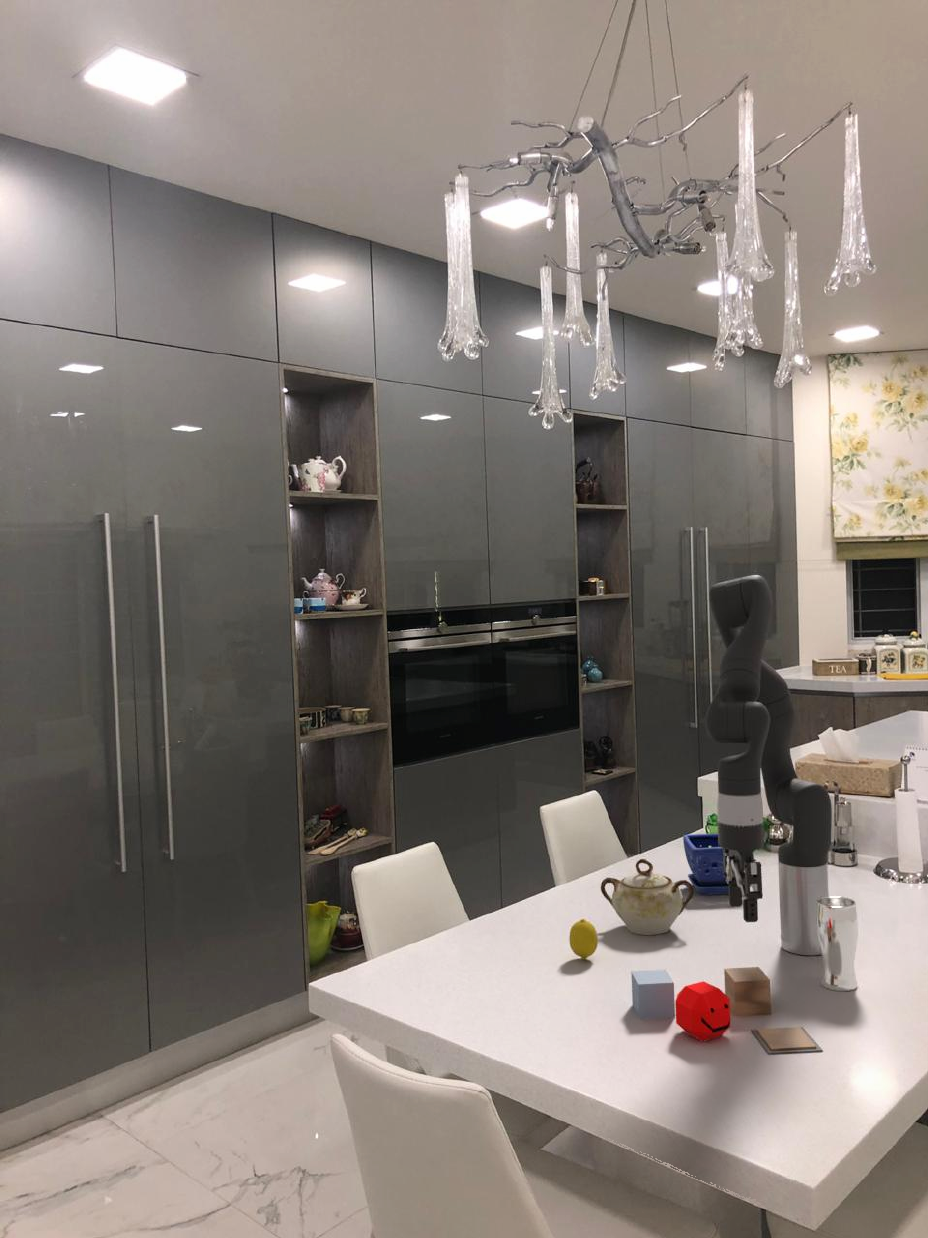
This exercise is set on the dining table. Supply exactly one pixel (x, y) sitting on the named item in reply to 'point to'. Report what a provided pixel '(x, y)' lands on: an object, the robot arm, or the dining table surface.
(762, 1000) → the walnut cube
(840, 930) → the beer glass
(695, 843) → the flower pot
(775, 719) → the robot arm
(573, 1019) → the dining table surface
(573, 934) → the lemon
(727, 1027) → the ball
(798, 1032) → the walnut swatch
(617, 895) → the sugar bowl
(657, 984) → the slate cube
